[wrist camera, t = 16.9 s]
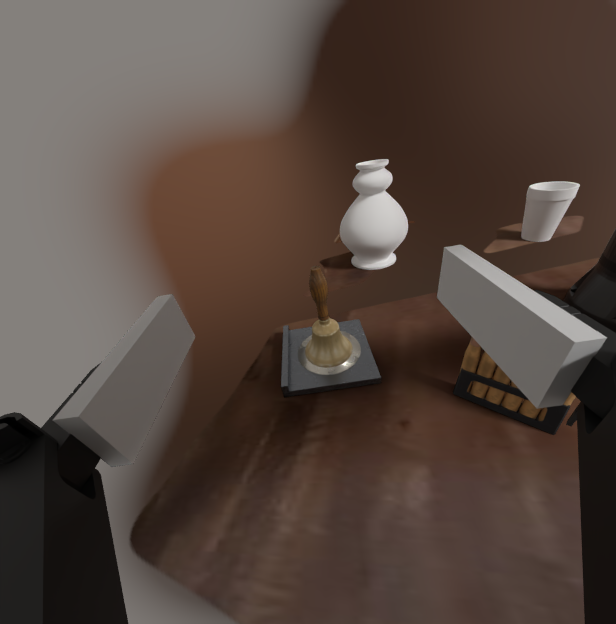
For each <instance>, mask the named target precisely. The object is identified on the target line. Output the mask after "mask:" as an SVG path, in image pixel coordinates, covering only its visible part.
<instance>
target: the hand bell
mask: <svg viewBox="0 0 616 624" xmlns="http://www.w3.org/2000/svg"><path fill="white" fill-rule="evenodd" d="M309 287H310V292H311V295H312V297H313V300H314V301H315V303H316V306H317V310H318V319H319V320H318V321H316V322H315V323H314V324H313V326H312V339H311V340H310V341H309V342H308V344H307V346H306V349H305V355H306V358H307V359H308V361H309V362H311V363H312V364H314V365H316V366H319V367H324V368H327V367H335V366H338V365H340V364H342V363H344V362H345V361H347V360H348V359H349V357H350V356H351V354H352V350H353V348H352V344H351V342H350V341H349V340H348V338H346V337H345V336H343V335H342V334H341V332H340V328H339V325H338V323H337V322H336V321H335V320H333V319H329V315H328V310H327V304H326V303H327V296H328V288H327V282H326V279H325V277H324V275H323V273H322V272H321V270H320V267H319V266H313V267H312V268H311V274H310V280H309Z"/></svg>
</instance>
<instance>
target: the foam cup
mask: <svg viewBox="0 0 616 624" xmlns="http://www.w3.org/2000/svg"><path fill="white" fill-rule="evenodd" d="M579 186H580V184H577V183H573V182H544V183H537V184H534V185H530V187H529V189H528V192H527V195H526V197H527V200H526V207H525V213H524V220H523V226H522V233H521V238H522V239H524V240H527V241H534V242H542V241H547V240H550V238H551V237H552V235H553V233H554V232H555V230H556V228H557V226H558V224H559V223H560V221H561V219H562V217H563V216H564V214H565V212H566V210H567V208H568V207H569V205H570V203H571V201H572V199H573V198H574V197H575V196H576V193H577V191H578V188H579Z"/></svg>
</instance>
